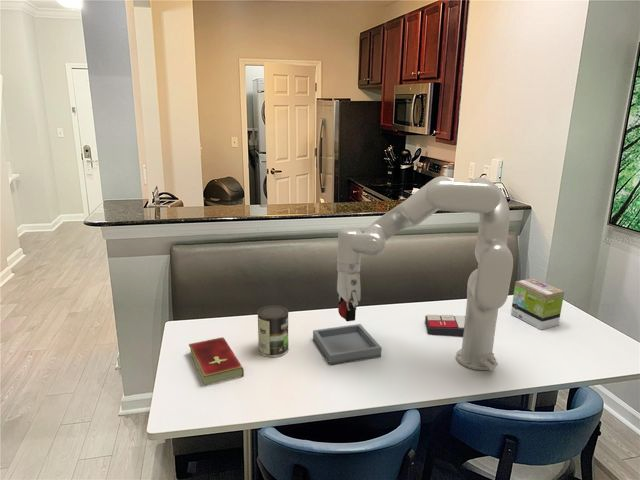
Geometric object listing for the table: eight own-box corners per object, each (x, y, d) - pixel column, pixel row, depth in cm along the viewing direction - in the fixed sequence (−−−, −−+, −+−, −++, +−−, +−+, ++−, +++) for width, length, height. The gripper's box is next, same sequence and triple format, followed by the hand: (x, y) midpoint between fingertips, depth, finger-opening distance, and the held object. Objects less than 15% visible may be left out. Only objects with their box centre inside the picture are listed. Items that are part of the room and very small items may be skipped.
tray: (381, 356, 154) (381, 347, 153) (329, 365, 149) (330, 355, 148) (359, 332, 171) (360, 323, 170) (312, 339, 165) (313, 330, 164)
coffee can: (292, 344, 162) (292, 306, 158) (283, 359, 152) (283, 319, 148) (263, 340, 164) (262, 303, 160) (253, 355, 154) (252, 316, 150)
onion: (348, 325, 153) (349, 302, 151) (334, 320, 156) (335, 298, 154) (358, 319, 157) (359, 297, 155) (344, 314, 161) (345, 292, 158)
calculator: (425, 313, 180) (465, 314, 178) (425, 323, 181) (464, 324, 179) (428, 326, 169) (471, 327, 167) (428, 337, 170) (470, 337, 169)
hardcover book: (224, 347, 160) (224, 335, 159) (243, 378, 142) (243, 365, 141) (189, 354, 155) (188, 343, 154) (204, 387, 137) (203, 375, 136)
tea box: (509, 314, 188) (514, 280, 183) (527, 310, 192) (532, 277, 188) (540, 330, 174) (546, 294, 170) (559, 326, 179) (565, 290, 174)
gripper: (370, 273, 145) (367, 326, 150) (349, 256, 160) (347, 304, 165) (347, 275, 142) (345, 329, 148) (329, 258, 158) (327, 307, 163)
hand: (346, 315), depth 156 cm, fingers closed on onion, 5 cm apart
